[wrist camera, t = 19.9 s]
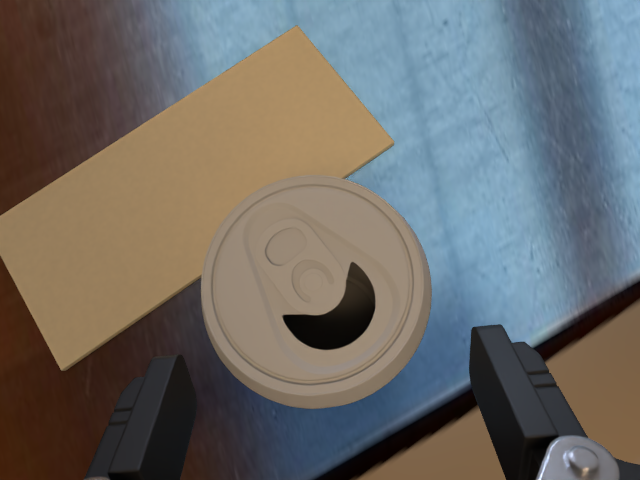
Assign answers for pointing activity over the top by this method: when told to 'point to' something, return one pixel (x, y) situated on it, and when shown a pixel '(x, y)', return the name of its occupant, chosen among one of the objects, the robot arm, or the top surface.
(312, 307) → the beverage can
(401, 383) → the top surface
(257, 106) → the board
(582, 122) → the top surface
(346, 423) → the top surface
